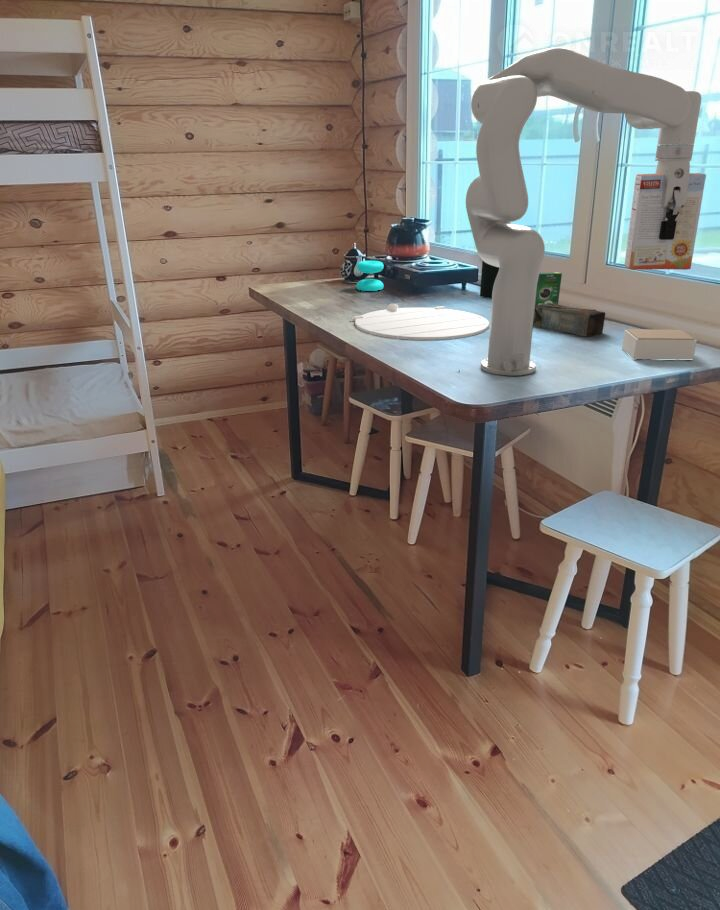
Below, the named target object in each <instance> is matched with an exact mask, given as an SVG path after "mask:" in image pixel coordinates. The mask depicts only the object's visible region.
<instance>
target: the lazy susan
mask: <svg viewBox="0 0 720 910" xmlns="http://www.w3.org/2000/svg"><path fill="white" fill-rule="evenodd" d="M350 320H351V321H354V324H355V325H356V326H355V328H356V329H357V330H359V331H361V332H363V333H366V334H369V335H372V334H373V335H372V336H376V335H377V336H376V337H381V336H382V337H381V338H387V337H388V338H389V339H397V338H398V340H406V339H408V340H410V341H440V340H439V339H446V340H453V339H452V338H456V339H463V338H467V337H468V336H469V337H472V335H473V336H477V335H479V333H480V334H481V333H484V332H486V331H488V329H489V328H490V321H489V320H488V319H487V318H485V317H484V316H481V315H479V314H475V313H473V312H468V311H464V310H458V309H450V308H446V306H443V305H441V306H435V307H399V305H398V304H397V303H389V304H388V306H386V309H385V308H384V309H381V310H374V311H370V312H366V313H364V314H362V315H356V316H355V315H354V316H353V317H351V318H350ZM488 327H489V328H488ZM476 334H477V335H476ZM462 337H463V338H462ZM388 338H387V339H388ZM436 339H438V340H436Z"/></svg>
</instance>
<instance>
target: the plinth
mask: <svg viewBox="0 0 720 910" xmlns="http://www.w3.org/2000/svg"><path fill="white" fill-rule="evenodd" d="M697 342H698V340H697V339H696V338H694V337H693V336H691V335H689V334H688V333H686V332H685V331H684V330H682V329H660V328H659V329H650V328H647V329H646V328H645V329H644V328H643V329H642V328H641V329H639V328H626V329H624V333H623V339H622V345H621V350H622V349H623V350H624V351H625V352H627V353H628V354H629V355H630V356H631V357H632V358H633V359H693V360H694V357H695V356H694V355H695V352H696V346H697ZM623 350H622V351H623ZM624 351H623V352H624ZM625 352H624V353H625ZM632 358H631V359H632ZM633 359H632V360H633Z"/></svg>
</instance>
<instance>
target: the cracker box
mask: <svg viewBox="0 0 720 910" xmlns="http://www.w3.org/2000/svg"><path fill="white" fill-rule="evenodd" d="M677 174H678V173H677ZM706 179H707V174H705V173H700V172H694V173H692V172H691V173H689V184H688V192H687V200H686V205H685V206H684V207H683V208H681V209H680V210H679V214H678V220H677V223H676V229H675V235H674V239H673V240H660V239H659V235H660V228H661V222H662V221H664V208H663V207H661V200H662V188H663V180H664V175H662V174H655V173H638V174H636V175H635V180H634V187H633V195H632V203H631V211H630V220H629V227H628V236H627V243H626V250H625V251H626V252H625V257H624V267H625V268H627V269H628V270H631V271H632V270H679V271H680V270H691V268H692V263H693V257H694V249H695V244H696V239H697V233H698V226H699V221H700V214H701V209H702V202H703V196H704V190H705V184H706ZM667 206H673V204H668V205H667ZM682 206H683V205H682ZM682 206H681V207H682ZM669 211H670V210H668V213H669Z"/></svg>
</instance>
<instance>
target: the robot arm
mask: <svg viewBox="0 0 720 910" xmlns="http://www.w3.org/2000/svg"><path fill="white" fill-rule="evenodd" d="M546 96H547V97H548V96H549V97H553V98H554V97H555V98H557V99H559V100H561V101H565V102H568V103H570V104H573V105H576V106H578V107H581V108H584V109H586V110H588V111H591V112H596V113H603V114H622V115H623V114H624V118H625V120H626V122H627V124H628V125H629V126H630V127H632V128H634V129H637V130H653V129H659V133H658V138H657V145H656V153H655V159H654V160H655V161H654V162H657V164H656V168H655V173H654V174H662V175H664V180H663V188H662V200H661V207H663V208H664V221H662V222H661V228H660V235H659V239H660V240H673V239H674V235H675V229H676V223H677V220H678V214H679V210H680V209H681V208H683V207H684V206H685V205H686V200H687V192H688V184H689V173H690V170H691V169H690V166H691V163H690V162H691V161H692V159H693V154H694V153H693V152H694V147H695V140H696V135H697V130H698V129H697V128H698V123H699V117H700V110H701V105H702V94H701V93H700V92H698V91H695V90H694V91H693V90H691V91H690V90H689V91H688V90H685V89H684V88H683V87H681V86H679V85H677V84H675V83H673V82H670V81H668V80H666V79H663V78H660V77H657V76H653V75H649V74H645V73H641V72H635V71H631V70H628V69H623V68H618V67H613V66H611V65H608V64H606V63H603V62H601V61H598V60H596V59H594V58H591V57H589V56H586V55H584V54H581V53H579V52H576V51H574V50H571V49H569V48H566V47H561V46H555V47H550V48H546V49H541V50H537V51H533V52H531V53H529V54H527V55H526V56H523V57H521V58H520V59H518V60H517V61H515V62H514V63H512V64H510V65H509V66H507V67H506V68H504V69H502V70H501V71H499V72H498V73H496V74H494V75H493V76H491V77H489V78H487V79H486V80H484V81H483V82H481V83H480V84H479V86H478V87H477V88H476V89H475V91H474V92H473V94H472V98H471V103H470V108H471V112H472V114H473V117H474V118H475V119H476V121H477V122H479V123H480V124H481V127H480V129H479V132H478V134H477V135H478V136H477V140H476V145H475V146H476V149H475V154H476V161H477V167H478V172H479V173H478V174H479V176H477V177H476V178H474V179H473V181H472V182H471V183H470V185H469V186H468V188H467V191H466V194H465V195H466V196H465V210H466V214H467V219H468V223H469V226H470V230H471V234H472V238H473V242H474V246H475V249H476V252H477V254H478V256H479V257H480V259H481V260H483V261H484V262H486V263H487V264H489V265H492V266H496V267H499V271H498V274H497V277H496V279H495V282H494V286H493V292H492V298H491V307H490V308H491V309H490V322H489V336H488V339H489V340H488V350H487V351H488V353H487V358H484V359H482V360H481V361H480V368H481V370H482V371H484V372H487V373H489V374H493V375H499V376H512V377H514V376H515V377H517V376H525V375H530V374H533V373H534V372H535V371H536V370H537V364H536V363H535V362H534V361H532V360H531V352H532V349H531V348H532V342H533V341H532V340H533V330H534V329H533V328H534V326H533V321H534V310H535V299H536V289H537V282H538V277H539V273H541V268H542V265H543V262H544V258H545V252H546V251H545V247H546V246H545V242H544V240H543V237H542V235H541V234H540V233H539V232H538V231H537V230H535V229H533V228H532V227H528V226H525V225H520V224H511V223H514V222H517V221H519V220H520V219H522V218H523V217H524V216H525V215H526V213H527V211H528V207H529V195H528V189H527V185H526V180H525V176H524V171H523V166H522V161H521V155H520V138H521V134H522V132H523V129H524V127H525V125H526V123H527V121H528V120H529V118H530V117H531V115H532V114H533V112H534V110H535V108H536V105H537V101H538V98H541V97H546ZM677 173H678V174H677ZM668 204H673V206H667V205H668ZM682 205H683V206H682ZM681 206H682V207H681ZM668 210H670V211H669V213H668Z"/></svg>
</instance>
